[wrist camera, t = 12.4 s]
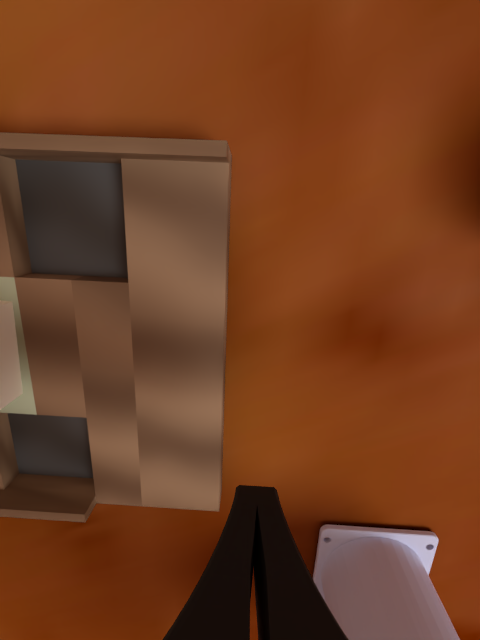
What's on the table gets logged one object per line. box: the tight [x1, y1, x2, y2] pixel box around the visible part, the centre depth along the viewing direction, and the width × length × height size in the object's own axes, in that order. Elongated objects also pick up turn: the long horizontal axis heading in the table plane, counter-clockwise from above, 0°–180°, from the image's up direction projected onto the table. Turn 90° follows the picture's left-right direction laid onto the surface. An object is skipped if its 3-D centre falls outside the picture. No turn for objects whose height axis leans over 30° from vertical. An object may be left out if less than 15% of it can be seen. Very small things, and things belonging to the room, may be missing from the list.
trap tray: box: [0, 132, 232, 522], centre depth 18 cm, size 21×18×3 cm
